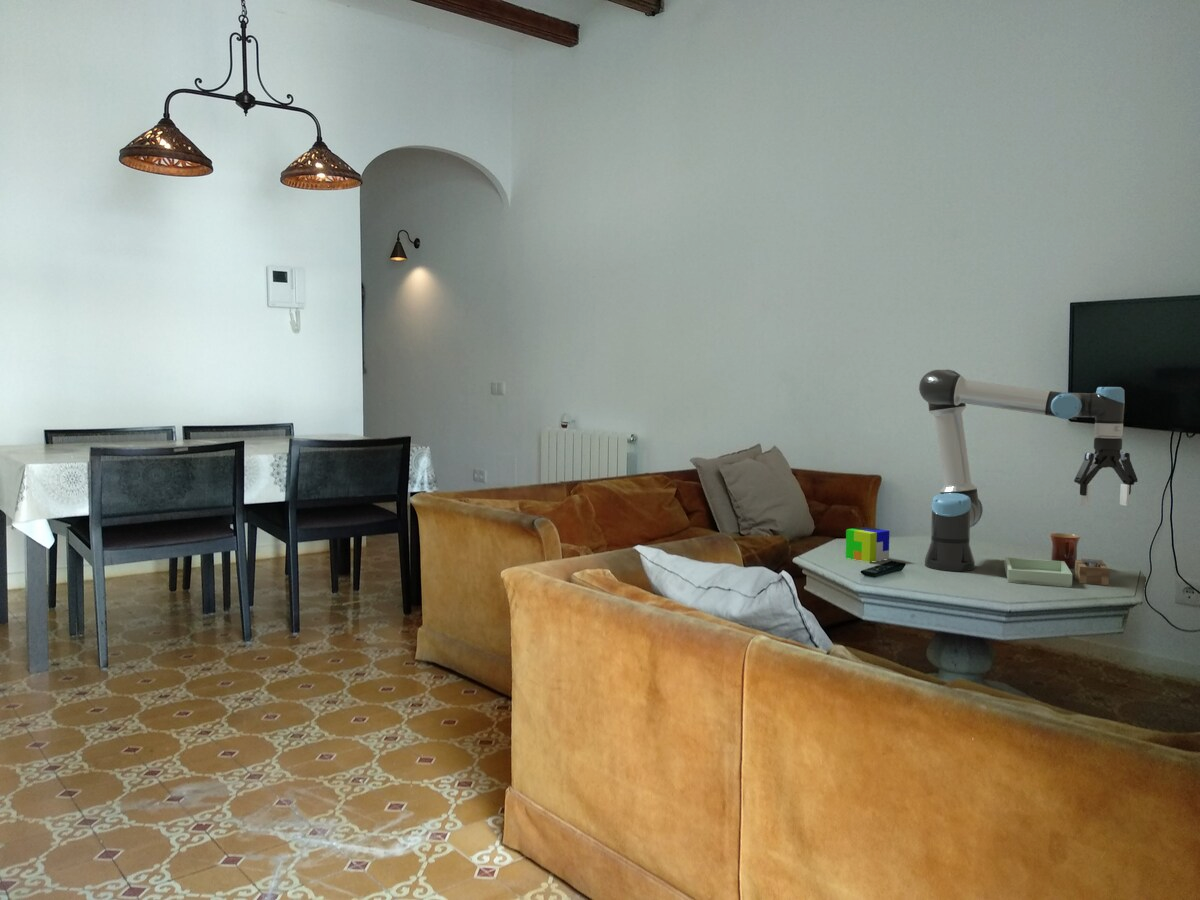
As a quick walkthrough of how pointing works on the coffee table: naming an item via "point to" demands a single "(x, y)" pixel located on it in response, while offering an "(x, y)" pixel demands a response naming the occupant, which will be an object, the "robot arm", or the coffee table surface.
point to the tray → (1038, 572)
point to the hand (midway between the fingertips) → (1104, 505)
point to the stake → (1091, 561)
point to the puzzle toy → (867, 544)
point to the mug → (1064, 548)
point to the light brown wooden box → (1091, 573)
